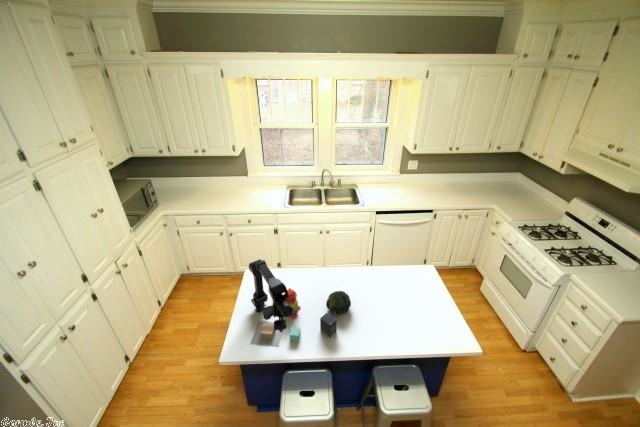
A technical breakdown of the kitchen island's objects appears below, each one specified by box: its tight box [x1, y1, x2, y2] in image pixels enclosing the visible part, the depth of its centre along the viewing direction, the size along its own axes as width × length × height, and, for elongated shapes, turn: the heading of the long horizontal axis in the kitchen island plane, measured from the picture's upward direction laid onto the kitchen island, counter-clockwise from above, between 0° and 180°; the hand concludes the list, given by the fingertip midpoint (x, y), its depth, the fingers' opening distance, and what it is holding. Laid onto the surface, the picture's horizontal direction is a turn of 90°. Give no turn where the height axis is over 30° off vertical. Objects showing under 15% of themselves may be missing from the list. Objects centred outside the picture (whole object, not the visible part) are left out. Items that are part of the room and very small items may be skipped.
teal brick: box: [289, 327, 302, 343], centre depth 165 cm, size 5×5×6 cm
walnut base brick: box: [260, 323, 275, 339], centre depth 168 cm, size 7×7×4 cm
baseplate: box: [250, 320, 284, 348], centre depth 169 cm, size 16×16×1 cm
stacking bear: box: [286, 287, 302, 320], centre depth 179 cm, size 11×10×18 cm
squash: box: [325, 290, 352, 316], centre depth 182 cm, size 14×15×15 cm
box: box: [319, 312, 338, 339], centre depth 168 cm, size 8×6×11 cm
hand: (280, 324), depth 158 cm, fingers open, 9 cm apart
